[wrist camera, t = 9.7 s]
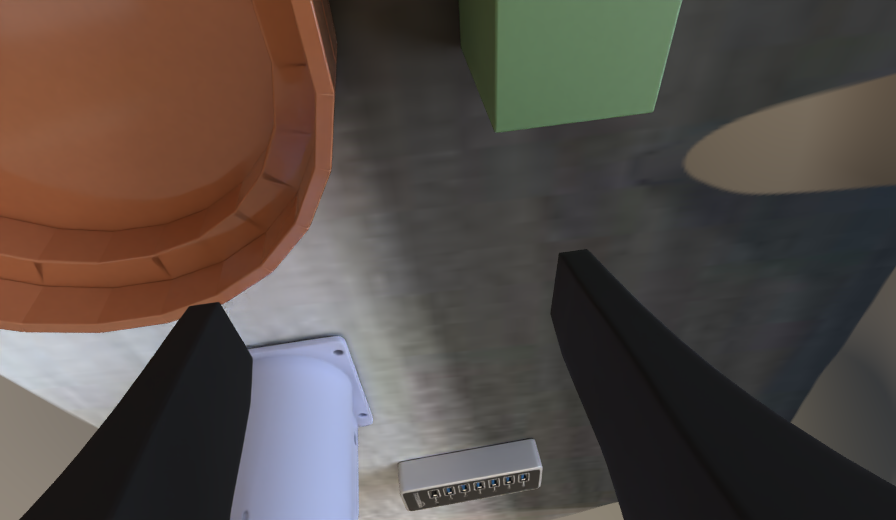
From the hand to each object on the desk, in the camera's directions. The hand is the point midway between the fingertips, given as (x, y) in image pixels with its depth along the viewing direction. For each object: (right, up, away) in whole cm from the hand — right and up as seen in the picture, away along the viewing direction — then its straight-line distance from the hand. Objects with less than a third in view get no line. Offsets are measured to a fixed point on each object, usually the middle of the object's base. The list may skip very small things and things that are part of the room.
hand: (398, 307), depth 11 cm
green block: (+3, +10, +4) cm, 11 cm away
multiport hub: (+3, -15, +29) cm, 33 cm away
